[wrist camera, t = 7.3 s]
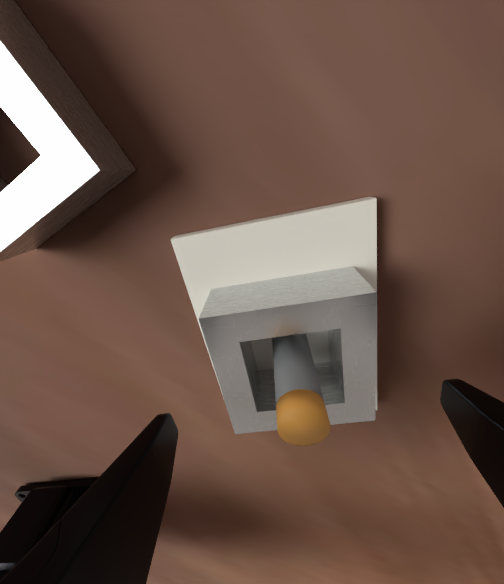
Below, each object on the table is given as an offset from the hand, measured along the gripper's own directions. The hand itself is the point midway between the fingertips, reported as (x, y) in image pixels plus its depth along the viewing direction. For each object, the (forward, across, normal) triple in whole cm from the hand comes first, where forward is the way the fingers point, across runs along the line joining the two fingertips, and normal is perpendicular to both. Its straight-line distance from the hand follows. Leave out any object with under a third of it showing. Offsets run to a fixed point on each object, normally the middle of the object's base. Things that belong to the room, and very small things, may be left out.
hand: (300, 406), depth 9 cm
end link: (+4, 0, 0) cm, 4 cm away
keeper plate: (+5, 0, 0) cm, 5 cm away
